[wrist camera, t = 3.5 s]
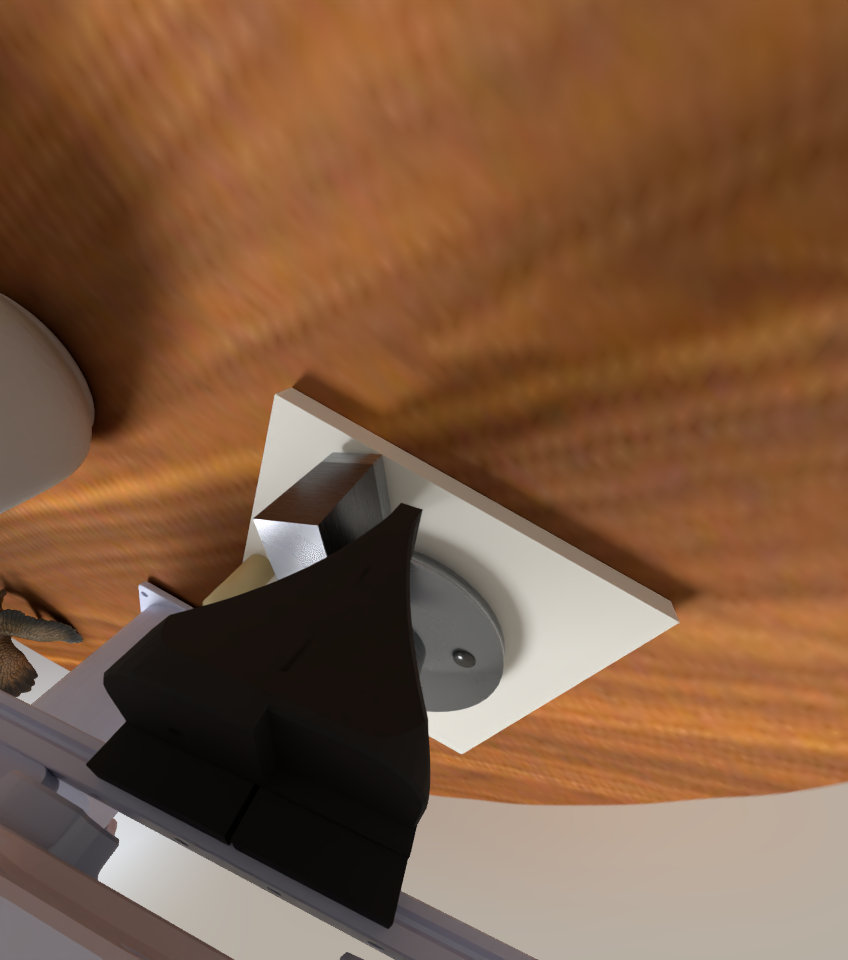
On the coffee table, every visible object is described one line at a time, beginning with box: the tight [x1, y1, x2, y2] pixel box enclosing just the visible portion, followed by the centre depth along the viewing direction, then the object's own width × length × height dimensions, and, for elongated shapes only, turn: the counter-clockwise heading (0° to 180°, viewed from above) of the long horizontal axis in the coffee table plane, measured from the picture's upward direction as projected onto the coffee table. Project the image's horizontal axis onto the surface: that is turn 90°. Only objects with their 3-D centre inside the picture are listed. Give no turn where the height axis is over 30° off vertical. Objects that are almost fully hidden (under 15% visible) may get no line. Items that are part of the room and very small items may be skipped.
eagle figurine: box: [0, 589, 83, 697], centre depth 32 cm, size 8×7×9 cm
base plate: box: [203, 387, 679, 754], centre depth 16 cm, size 17×17×4 cm
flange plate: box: [253, 452, 505, 712], centre depth 14 cm, size 15×11×4 cm
